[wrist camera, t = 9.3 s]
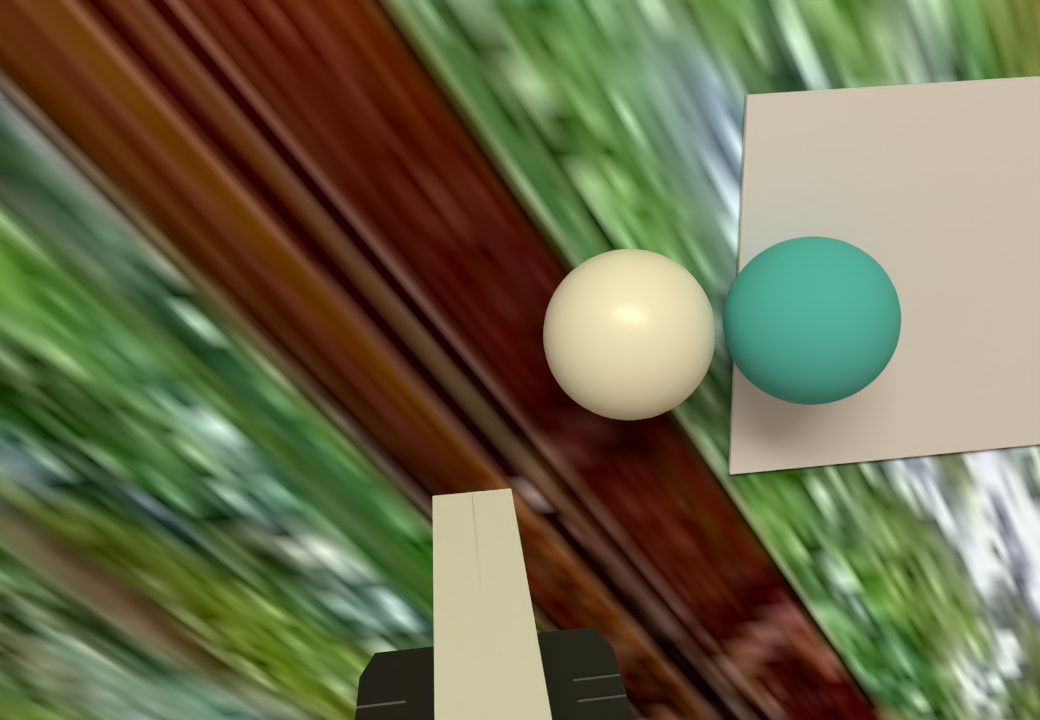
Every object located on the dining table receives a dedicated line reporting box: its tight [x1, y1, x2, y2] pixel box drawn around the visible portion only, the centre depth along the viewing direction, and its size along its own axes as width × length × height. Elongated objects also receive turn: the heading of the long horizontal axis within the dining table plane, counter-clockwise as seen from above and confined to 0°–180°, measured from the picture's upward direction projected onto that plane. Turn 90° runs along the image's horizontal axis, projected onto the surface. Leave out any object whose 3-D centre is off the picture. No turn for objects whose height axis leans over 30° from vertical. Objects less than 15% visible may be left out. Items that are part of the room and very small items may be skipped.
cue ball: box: [543, 249, 716, 420], centre depth 27 cm, size 6×6×6 cm
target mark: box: [728, 76, 1040, 474], centre depth 30 cm, size 14×14×1 cm
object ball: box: [723, 236, 901, 405], centre depth 28 cm, size 6×6×6 cm
